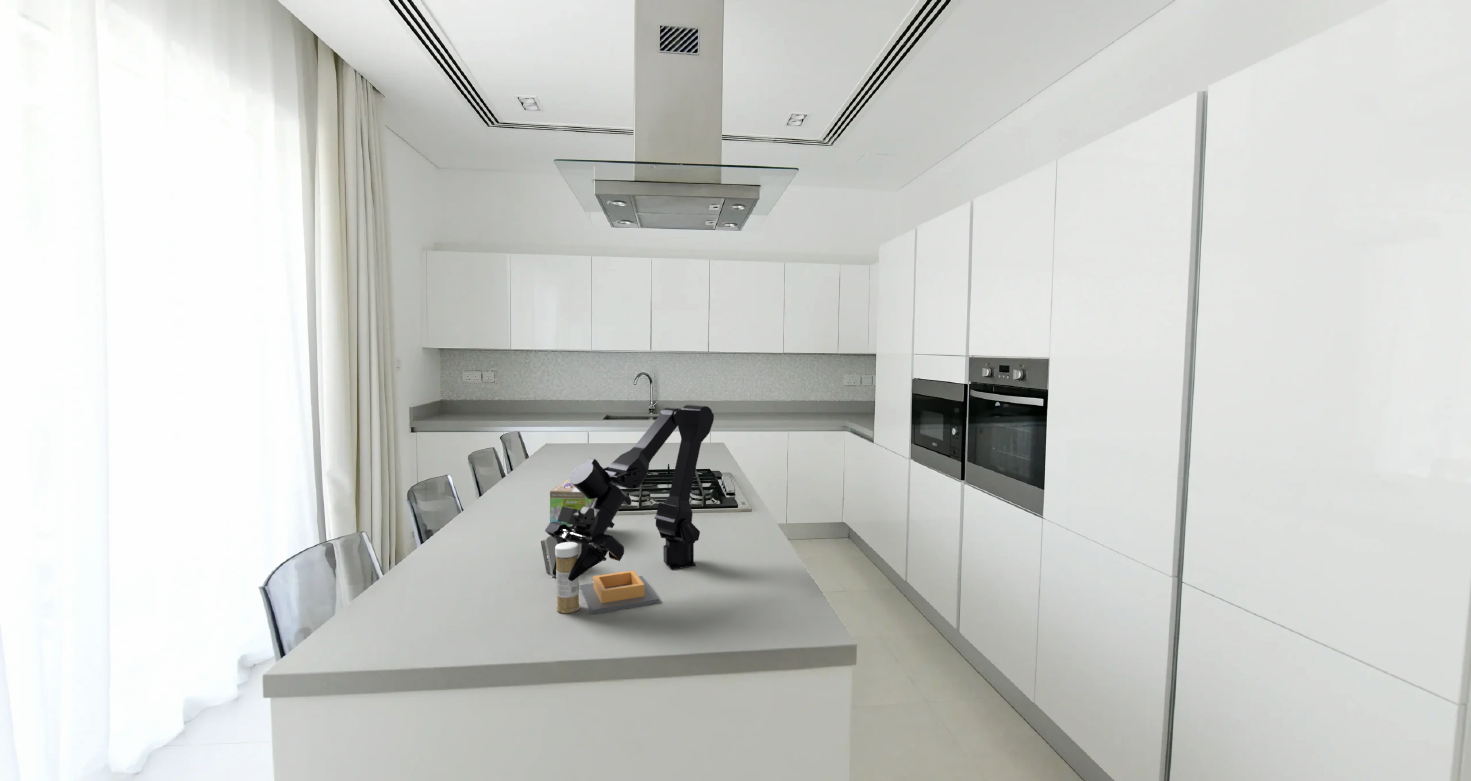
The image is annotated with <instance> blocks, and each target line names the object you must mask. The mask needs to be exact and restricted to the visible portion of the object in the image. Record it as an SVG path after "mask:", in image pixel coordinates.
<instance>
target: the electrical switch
mask: <svg viewBox="0 0 1471 781" xmlns="http://www.w3.org/2000/svg"><path fill="white" fill-rule="evenodd" d="M572 531H573V532H574V531H575V530H574V529H572ZM577 544H578V547H579V553H578V558H579V556H580V554H581V545H582V544H580V543H577ZM540 545H541V546H540V547H541V551H542V556H543V560H544V567H545V571H546V574H547V575H548V574H550V576H551V577H552V578H554V577H555V578H556V576H554V575H553V569H554V564H555V560H556V555H555V547H556V545H558V544H557V541H556V540H554V539H553V538H552V537H551V536H550V535H548V536H545V537H544V539H543V540H540Z"/></svg>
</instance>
